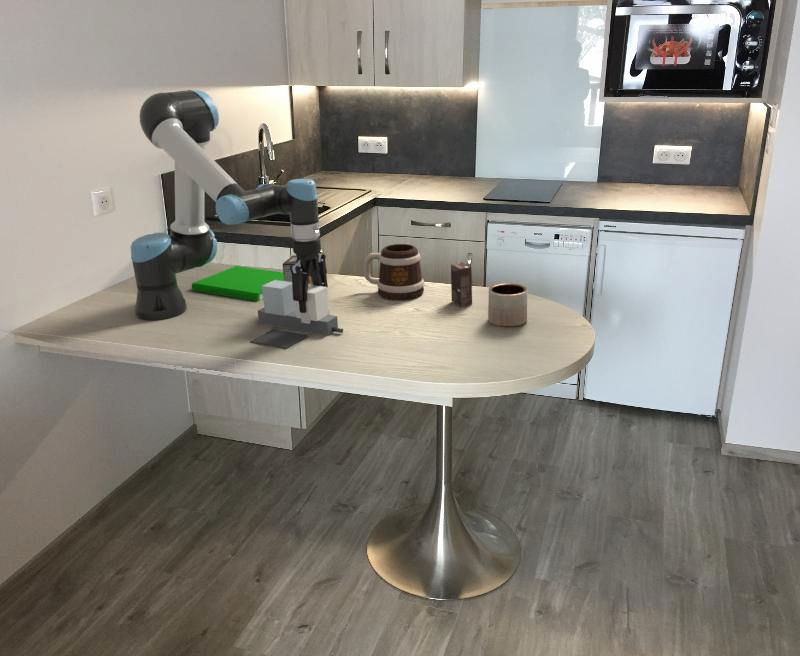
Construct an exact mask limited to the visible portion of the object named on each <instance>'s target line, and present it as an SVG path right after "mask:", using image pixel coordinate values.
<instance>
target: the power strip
mask: <svg viewBox="0 0 800 656" xmlns="http://www.w3.org/2000/svg"><path fill="white" fill-rule="evenodd" d="M257 317H258V324H259V325H263V326H271V327H275V328H282V329H288V330H294V331H300V332H306V333H311V334H316V335H322V336H330V335H332V334H333V333H340V334H343V333H344V328H340V327H339V322H338V321H339V320H338V316H337V315H332V314H329V315H327V316H325V317H323V318H322V319H320V320H318V321H313V320H311V323H310V324H307V323H301V318H296V310H295V311H293V312H291V313H289V314H287V315H285V316H282V315H276V314H270V313H265V310H264V307H262V308H260V309H258V310H257Z"/></svg>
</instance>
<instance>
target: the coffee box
mask: <svg viewBox="0 0 800 656" xmlns="http://www.w3.org/2000/svg"><path fill="white" fill-rule="evenodd" d="M296 260H297V255H296V254H294V255H292V256H290V257H289V258H288V259H287V260H285V261H284V262H283V263H282V272H283V273H284V281H286V282H292V274H291V270H290V266H291V265H293V266H294V265H295V264H296ZM302 273H303V272H302ZM305 274H306V273H305ZM308 285H313V282H312V279H311V276H310V277H309V282H308Z"/></svg>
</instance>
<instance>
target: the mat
mask: <svg viewBox="0 0 800 656" xmlns="http://www.w3.org/2000/svg"><path fill="white" fill-rule="evenodd" d="M307 337H309V334H305V333H300V332H294V331H289V330H284V329H282V330H281V329H278V328H277V329H276V328H272V329H269V330H268V331H266V332H264V333H263V334H261V335H259V336H257V337H255V338H253V339H251V340H250V342H249V343H252V344H257V345H262V346H266V347H267V346H268V347H273V348H279V349H283V350H287V349H289V348H291V347H292V346H294V345H296V344H298V343H299V342H300V341H302V340H304V339H306V338H307Z"/></svg>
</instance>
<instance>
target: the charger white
mask: <svg viewBox="0 0 800 656" xmlns="http://www.w3.org/2000/svg"><path fill="white" fill-rule="evenodd" d="M328 294H329V292H328V287H323V286H316V285H308V293H307V300H308V301H309V307H310V319H311V320H313V321H318V320H320V319H322V318H323V317H325V316H327V315H330V309H329V306H330V305H329V296H328ZM295 310H296V318H301V314H300V310H299V302H298V301H295Z"/></svg>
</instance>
